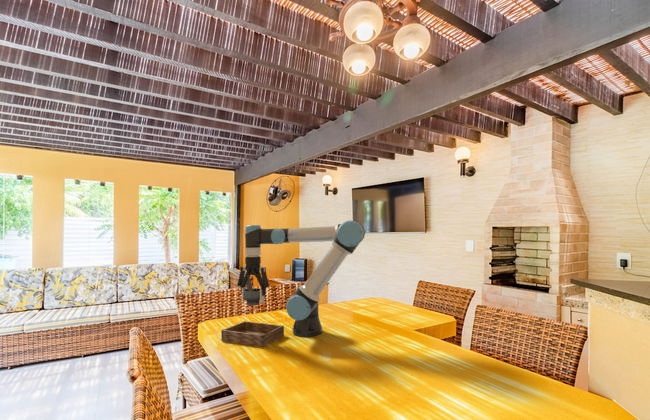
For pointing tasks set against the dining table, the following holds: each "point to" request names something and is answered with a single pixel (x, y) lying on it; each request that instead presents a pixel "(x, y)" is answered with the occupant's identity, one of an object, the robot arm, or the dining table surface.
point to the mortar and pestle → (251, 294)
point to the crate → (252, 333)
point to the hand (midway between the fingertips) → (253, 301)
